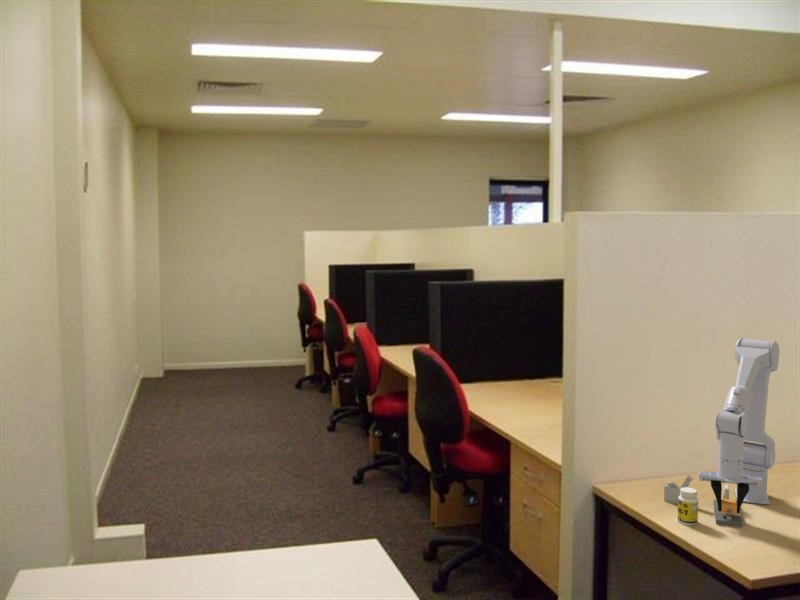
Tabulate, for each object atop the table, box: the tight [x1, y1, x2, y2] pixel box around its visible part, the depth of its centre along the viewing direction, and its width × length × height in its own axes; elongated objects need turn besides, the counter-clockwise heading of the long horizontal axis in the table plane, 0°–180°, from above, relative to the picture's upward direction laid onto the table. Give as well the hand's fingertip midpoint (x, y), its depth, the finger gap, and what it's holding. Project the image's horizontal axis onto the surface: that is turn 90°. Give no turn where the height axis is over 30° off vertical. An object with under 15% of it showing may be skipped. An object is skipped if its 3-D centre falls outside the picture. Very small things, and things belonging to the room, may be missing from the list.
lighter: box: [663, 474, 694, 505], centre depth 201 cm, size 7×2×8 cm, turn 55°
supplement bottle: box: [677, 486, 699, 526], centre depth 188 cm, size 5×5×8 cm
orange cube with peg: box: [721, 498, 737, 515], centre depth 188 cm, size 5×4×2 cm, turn 159°
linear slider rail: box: [713, 484, 743, 528], centre depth 192 cm, size 15×6×6 cm, turn 159°
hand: (728, 510), depth 189 cm, fingers closed on orange cube with peg, 3 cm apart
